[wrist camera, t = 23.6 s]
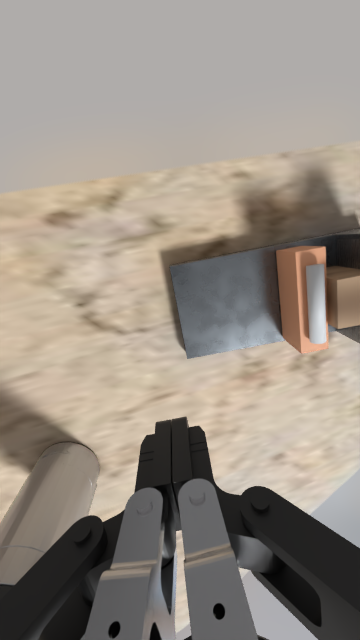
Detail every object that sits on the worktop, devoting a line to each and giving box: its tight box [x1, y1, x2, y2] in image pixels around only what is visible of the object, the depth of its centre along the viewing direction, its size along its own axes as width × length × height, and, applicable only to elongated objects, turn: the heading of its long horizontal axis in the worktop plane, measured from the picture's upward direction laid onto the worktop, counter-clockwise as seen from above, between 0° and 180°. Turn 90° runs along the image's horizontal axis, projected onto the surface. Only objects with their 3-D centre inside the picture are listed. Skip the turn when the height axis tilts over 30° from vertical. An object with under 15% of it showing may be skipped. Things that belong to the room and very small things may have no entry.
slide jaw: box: [276, 246, 328, 354], centre depth 29 cm, size 11×3×6 cm, turn 11°
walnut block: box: [326, 266, 360, 329], centre depth 29 cm, size 5×4×7 cm
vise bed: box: [169, 228, 360, 359], centre depth 31 cm, size 12×24×8 cm, turn 101°
